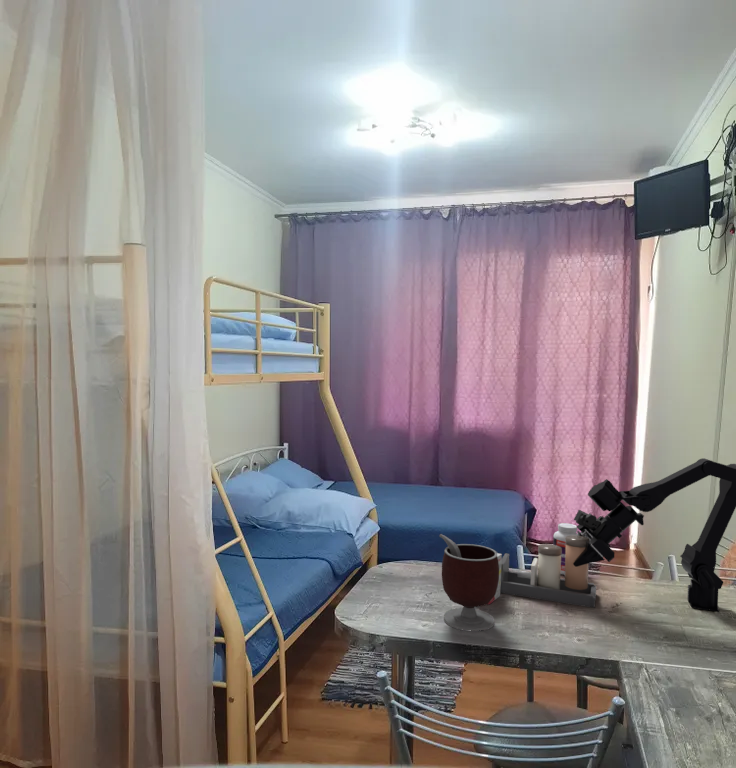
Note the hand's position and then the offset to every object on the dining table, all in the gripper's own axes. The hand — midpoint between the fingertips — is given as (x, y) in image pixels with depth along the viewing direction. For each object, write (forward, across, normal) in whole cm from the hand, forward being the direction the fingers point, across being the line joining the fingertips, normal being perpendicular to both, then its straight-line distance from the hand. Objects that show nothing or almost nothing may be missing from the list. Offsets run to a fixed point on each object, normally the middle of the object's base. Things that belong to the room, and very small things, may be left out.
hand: (571, 561), depth 167 cm
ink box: (+23, +5, -9) cm, 25 cm away
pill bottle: (+5, -21, +9) cm, 24 cm away
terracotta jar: (+4, 0, +6) cm, 7 cm away
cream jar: (+11, -2, +3) cm, 12 cm away
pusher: (+15, -4, -1) cm, 15 cm away
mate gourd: (+28, +20, -14) cm, 37 cm away
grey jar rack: (+11, -2, +3) cm, 12 cm away
